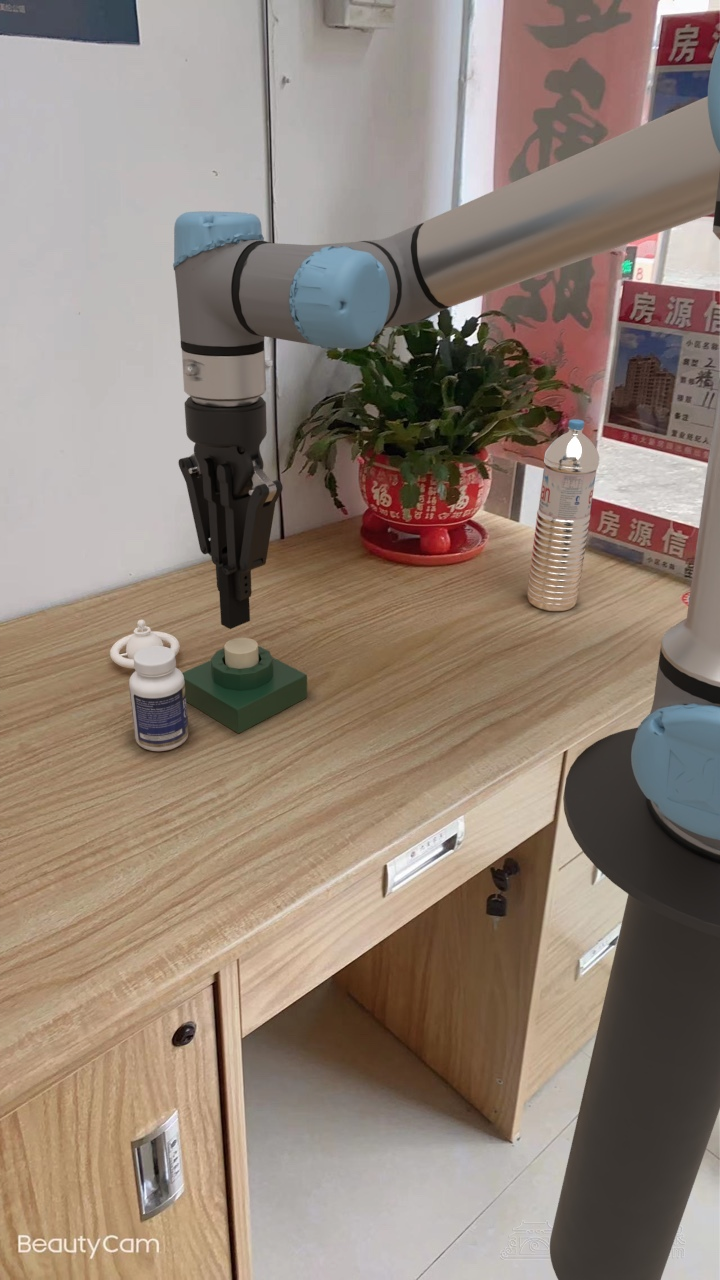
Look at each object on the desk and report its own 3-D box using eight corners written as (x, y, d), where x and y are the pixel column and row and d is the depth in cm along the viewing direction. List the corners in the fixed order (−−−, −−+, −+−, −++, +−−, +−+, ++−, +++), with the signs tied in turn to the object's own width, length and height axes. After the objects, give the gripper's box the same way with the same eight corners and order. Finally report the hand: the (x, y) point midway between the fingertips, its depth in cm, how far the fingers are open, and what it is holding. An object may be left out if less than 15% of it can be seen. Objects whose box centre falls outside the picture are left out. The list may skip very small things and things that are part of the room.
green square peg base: (307, 697, 98) (307, 658, 96) (238, 734, 92) (236, 693, 89) (248, 666, 104) (246, 628, 102) (179, 697, 98) (176, 658, 95)
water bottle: (567, 617, 117) (595, 431, 106) (518, 605, 120) (541, 422, 108) (582, 598, 123) (611, 419, 111) (536, 587, 126) (559, 411, 114)
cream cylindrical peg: (265, 661, 96) (265, 645, 95) (240, 673, 93) (239, 657, 92) (243, 650, 98) (243, 634, 97) (218, 661, 96) (217, 645, 95)
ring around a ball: (173, 680, 101) (187, 646, 108) (167, 636, 98) (182, 604, 105) (104, 680, 101) (122, 646, 108) (96, 636, 98) (115, 604, 105)
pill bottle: (198, 742, 90) (191, 659, 86) (148, 759, 87) (139, 674, 83) (175, 717, 94) (168, 637, 89) (127, 733, 91) (117, 651, 87)
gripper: (149, 390, 83) (168, 614, 94) (240, 416, 75) (249, 656, 87) (212, 379, 88) (223, 593, 99) (303, 402, 80) (304, 631, 92)
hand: (235, 622), depth 93 cm, fingers closed
